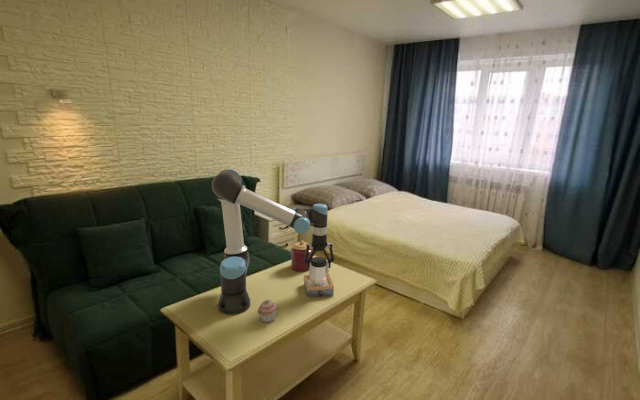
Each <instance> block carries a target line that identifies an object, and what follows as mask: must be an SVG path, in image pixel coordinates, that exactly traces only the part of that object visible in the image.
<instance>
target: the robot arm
mask: <svg viewBox="0 0 640 400" xmlns="http://www.w3.org/2000/svg"><path fill="white" fill-rule="evenodd" d="M211 189H212V192H213V193H214V194H215V195H216V196H217V200H218V201H220V202H221V203H220V204H221V210H222V220H223V227H224V236H225V245H226V247H225V248H224V250H223V252H224V253H223V254H224V259H223V260H222V261H221V262H220V265H219V273H220V289H221V290H220V291H221V292H220V296H219V299H218V302H217V308H218V311H219V312H220V313H222V314H225V315H238V314H242V313H244V312H246V311H247V310H248V309H249V308H250V306H251V299H250V296H249V293H248V291H247V273H248V268H249V266H250V262H251V258H250V253H249V250H248V246H247V245H246V244H245V243H244V242H245V241H244V233H243V232H244V231H243V223H242V212H241V206H243V207H245V208H247V209H250V210H252V211H255V212H256V213H259V214H261V215H263V216H265V217H268V218H269V219H272V220H273V221H276V222H279V223H280V224H283V225H285V226H287V227H290V228H292V229H294V231H295V232H296V233H297V234H300V235H304V234H306V233H308V232H309V231H310V228H311V224H312V230H311V231H312V234H311V235H312V237H311V238H312V239H311V240H312V241H311V243H309V242H307V244H306V247H307V248H306V252H305V256H304V263H307V269H309V270H308V275H311V260H312V258H314V257H315V254H316V253H317V252H323V253H324V255H325V259H326V262H327V263H326V264H327V275H328V274H329V269H331V268H332V267H331V264H332V263H333V262H335V257H334V253H333V245H334V244H333V243H332V242H327V239H328V235H327V234H328V216H329V215H328V214H329V213H328V205H326V203H325V204H324V203H315V204H313V206H312V208H309V207H308V208H307V207H306V208H300V207H299V208H297V207H295V208H289V207H287V206H285V205H283V204H280V203H278V202H276V201H274V200H272V199H269V198H267V197H265V196H263V195H260V194H259V193H257V192H255V191H252V190H250V189H248V188H246V185H244V184H243V179H242V177H241V175H240V173H239V172H238V171H236V170H234V169H232V168H231V169H230V168H229V169H228V168H227V169H224V170H221V171H220V172H218V174H217V175H215V176H214V177H213V179H212V182H211ZM310 247H311V248H312V252H311V254H310V256H309V258H308V260H307V257H308V253H309V248H310ZM327 247H328V249H329V250H328V251H329V255H330V257H329V255H328V252H327V250H326V248H327Z"/></svg>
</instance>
